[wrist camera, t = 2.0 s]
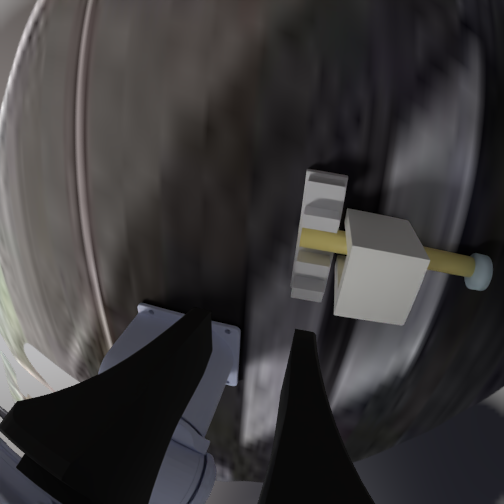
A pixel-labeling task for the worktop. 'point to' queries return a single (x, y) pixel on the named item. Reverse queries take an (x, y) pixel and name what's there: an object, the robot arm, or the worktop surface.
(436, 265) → the fibre cord
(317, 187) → the cable comb
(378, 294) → the light grey block
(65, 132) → the worktop surface
